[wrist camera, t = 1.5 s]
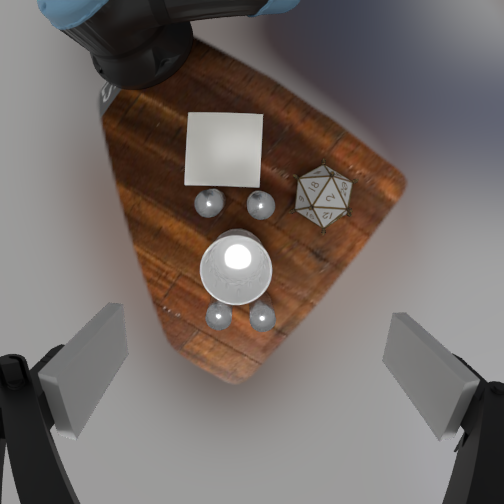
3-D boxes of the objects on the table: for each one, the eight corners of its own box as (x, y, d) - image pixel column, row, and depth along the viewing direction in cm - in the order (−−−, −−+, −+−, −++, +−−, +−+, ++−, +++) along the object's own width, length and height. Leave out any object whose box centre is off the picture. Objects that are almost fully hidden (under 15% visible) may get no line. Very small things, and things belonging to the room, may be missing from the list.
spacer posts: (202, 188, 43) (195, 189, 36) (278, 191, 44) (284, 193, 37) (200, 308, 47) (193, 328, 40) (270, 311, 47) (274, 332, 40)
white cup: (212, 281, 46) (203, 307, 36) (206, 225, 44) (196, 238, 35) (267, 277, 46) (273, 302, 36) (264, 221, 44) (270, 232, 35)
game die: (306, 181, 47) (320, 133, 38) (355, 212, 45) (379, 168, 36) (272, 221, 44) (280, 175, 35) (325, 257, 42) (347, 217, 33)
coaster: (189, 113, 41) (188, 112, 40) (262, 115, 41) (263, 114, 41) (185, 185, 43) (184, 185, 42) (259, 187, 43) (259, 187, 43)
